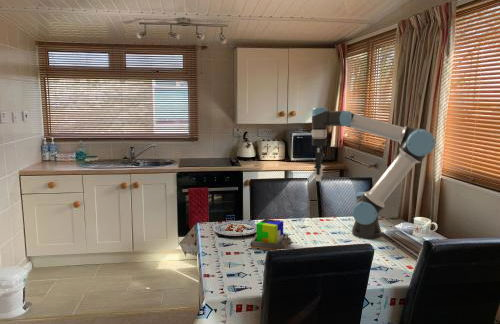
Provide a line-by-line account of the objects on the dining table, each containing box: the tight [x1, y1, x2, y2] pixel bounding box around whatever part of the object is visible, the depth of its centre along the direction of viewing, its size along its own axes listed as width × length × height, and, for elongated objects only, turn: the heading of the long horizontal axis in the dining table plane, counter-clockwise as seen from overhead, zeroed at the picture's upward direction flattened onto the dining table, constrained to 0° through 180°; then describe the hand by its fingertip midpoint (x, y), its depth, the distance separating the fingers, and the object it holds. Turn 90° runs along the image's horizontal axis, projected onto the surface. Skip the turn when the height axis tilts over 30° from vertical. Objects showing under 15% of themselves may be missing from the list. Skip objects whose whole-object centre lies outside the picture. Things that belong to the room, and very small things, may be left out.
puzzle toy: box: [256, 218, 284, 243], centre depth 194 cm, size 10×10×10 cm
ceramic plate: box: [213, 220, 257, 237], centre depth 215 cm, size 26×26×3 cm
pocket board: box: [247, 233, 291, 251], centre depth 194 cm, size 18×18×3 cm
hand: (319, 178), depth 200 cm, fingers open, 13 cm apart
